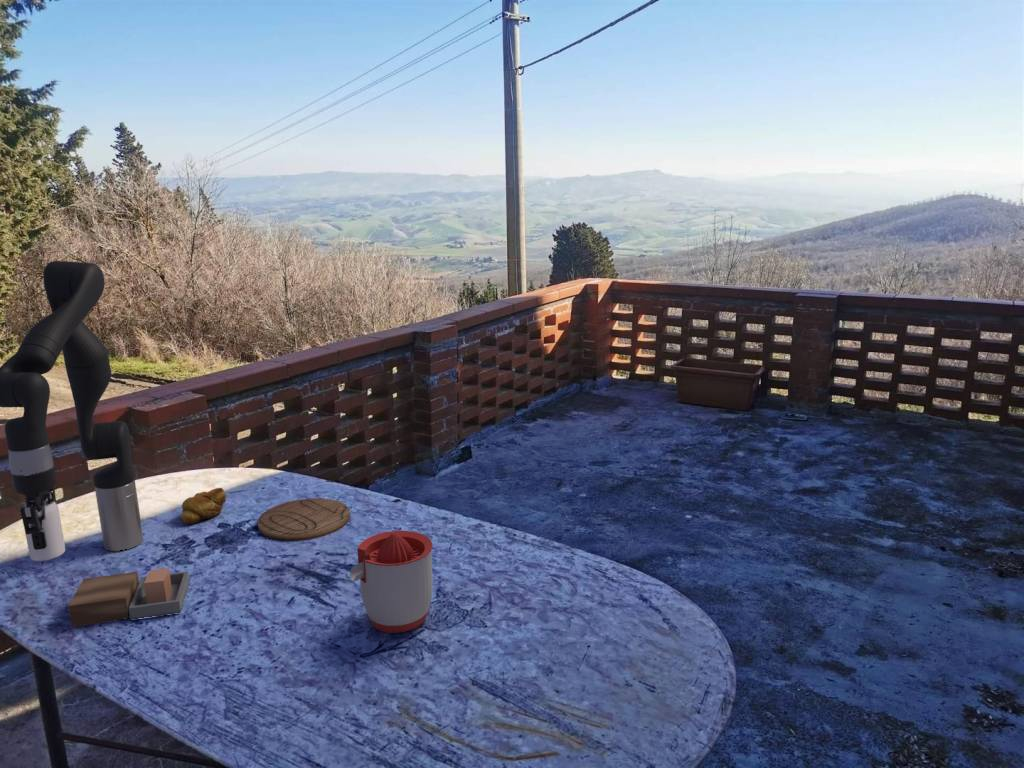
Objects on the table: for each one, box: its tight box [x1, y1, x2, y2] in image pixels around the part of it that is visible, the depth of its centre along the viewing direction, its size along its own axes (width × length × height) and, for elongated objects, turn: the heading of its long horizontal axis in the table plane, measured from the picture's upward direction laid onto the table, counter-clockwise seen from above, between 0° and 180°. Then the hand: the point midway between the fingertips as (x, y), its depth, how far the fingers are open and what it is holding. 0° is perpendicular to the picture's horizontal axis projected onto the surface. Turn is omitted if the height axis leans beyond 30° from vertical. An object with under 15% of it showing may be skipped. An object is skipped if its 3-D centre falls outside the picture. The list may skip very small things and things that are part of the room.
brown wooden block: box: [67, 571, 140, 628], centre depth 161 cm, size 12×11×5 cm
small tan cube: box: [144, 567, 172, 604], centre depth 164 cm, size 6×6×4 cm
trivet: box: [257, 497, 351, 542], centre depth 206 cm, size 25×25×2 cm
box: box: [129, 570, 191, 620], centre depth 165 cm, size 14×10×3 cm
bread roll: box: [180, 487, 227, 525], centre depth 208 cm, size 13×10×8 cm
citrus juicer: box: [349, 530, 434, 634], centre depth 154 cm, size 16×17×20 cm
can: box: [22, 498, 66, 562], centre depth 155 cm, size 6×6×12 cm
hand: (45, 541), depth 155 cm, fingers closed on can, 6 cm apart
